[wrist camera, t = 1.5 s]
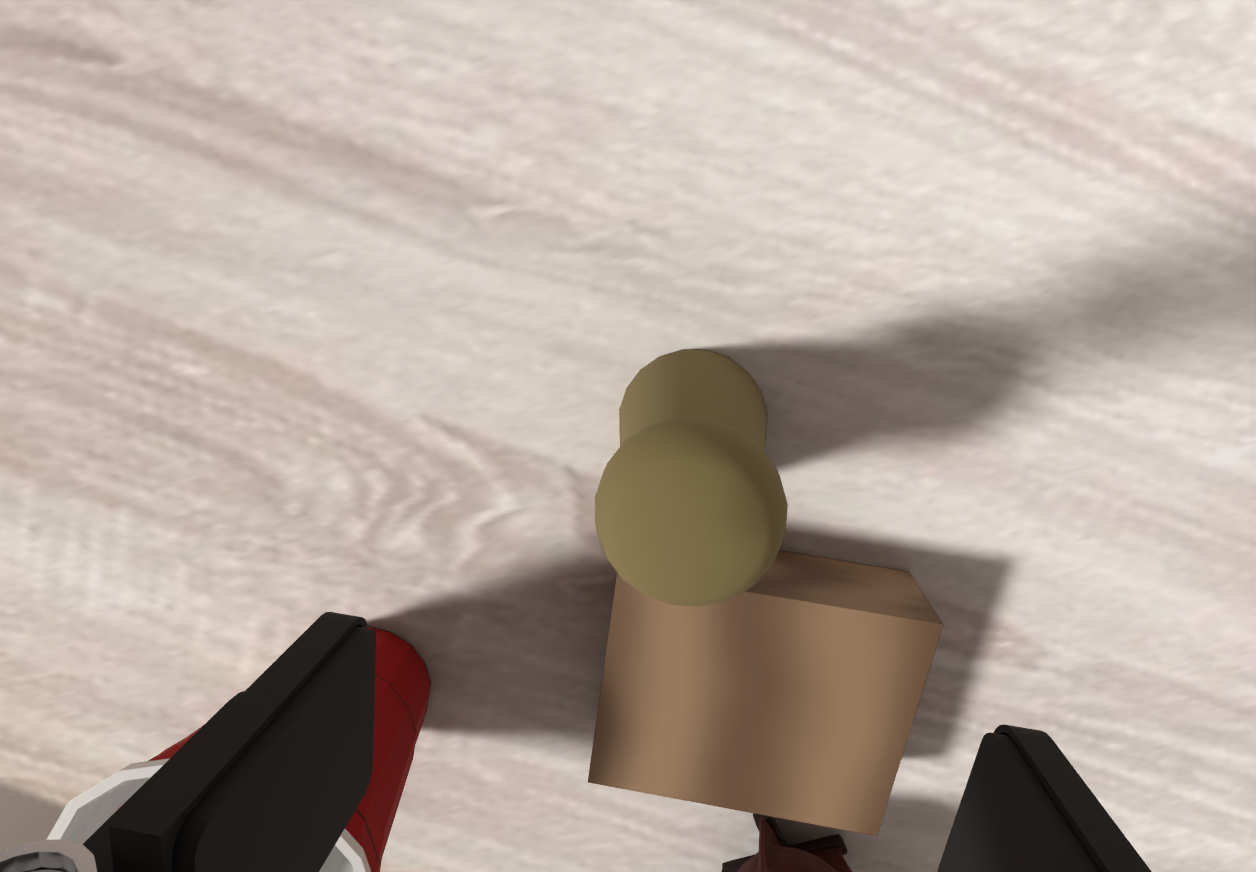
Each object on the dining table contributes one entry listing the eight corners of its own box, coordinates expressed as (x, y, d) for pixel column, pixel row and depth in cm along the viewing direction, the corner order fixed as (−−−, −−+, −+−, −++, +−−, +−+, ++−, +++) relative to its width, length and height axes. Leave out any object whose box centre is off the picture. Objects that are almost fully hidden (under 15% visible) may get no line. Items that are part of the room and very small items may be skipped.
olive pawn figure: (729, 322, 25) (751, 378, 15) (791, 456, 27) (851, 594, 16) (593, 388, 27) (525, 482, 16) (658, 513, 28) (635, 674, 18)
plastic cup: (523, 738, 32) (426, 1013, 21) (337, 787, 34) (156, 1061, 23) (426, 547, 30) (256, 738, 18) (233, 612, 32) (-29, 820, 20)
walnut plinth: (908, 571, 28) (943, 624, 24) (854, 761, 31) (877, 836, 27) (628, 526, 28) (617, 570, 24) (601, 716, 31) (587, 782, 27)
